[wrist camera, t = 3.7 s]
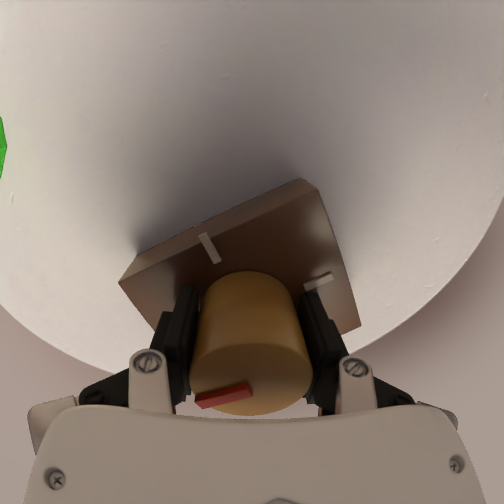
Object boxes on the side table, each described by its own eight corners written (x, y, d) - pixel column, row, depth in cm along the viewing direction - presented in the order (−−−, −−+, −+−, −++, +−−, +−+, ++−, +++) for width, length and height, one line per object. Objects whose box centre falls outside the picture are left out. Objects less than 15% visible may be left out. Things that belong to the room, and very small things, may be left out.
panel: (299, 171, 13) (316, 183, 10) (346, 299, 17) (363, 331, 14) (133, 251, 15) (112, 279, 12) (207, 353, 18) (203, 388, 15)
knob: (272, 254, 12) (291, 329, 7) (305, 325, 13) (328, 401, 9) (183, 292, 12) (161, 371, 8) (227, 353, 14) (225, 430, 10)
